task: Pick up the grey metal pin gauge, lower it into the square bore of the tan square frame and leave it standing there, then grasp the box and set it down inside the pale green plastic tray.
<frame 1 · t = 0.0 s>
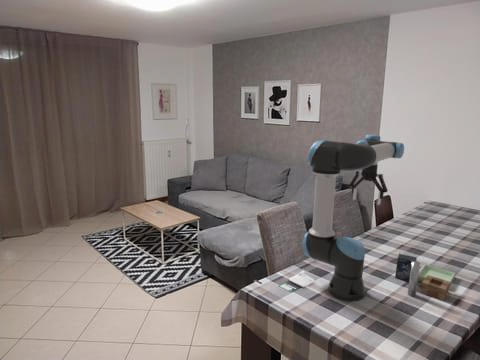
hand: (366, 201, 190), 28 cm above the table, fingers open, 13 cm apart
pin gauge: (411, 294, 150), on the table
tan square frame: (434, 292, 152), on the table
box: (404, 278, 165), on the table
tray: (434, 278, 164), on the table
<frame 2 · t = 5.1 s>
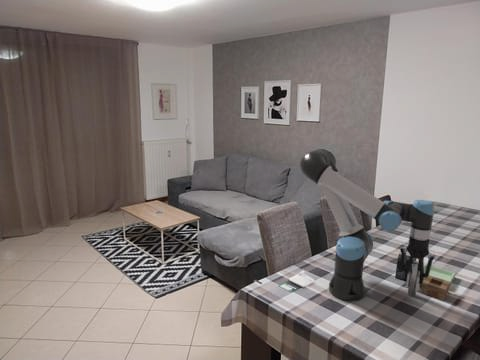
hand: (412, 288, 149), 3 cm above the table, fingers closed on pin gauge, 3 cm apart
pin gauge: (411, 294, 150), on the table, touching gripper
everything else where it was.
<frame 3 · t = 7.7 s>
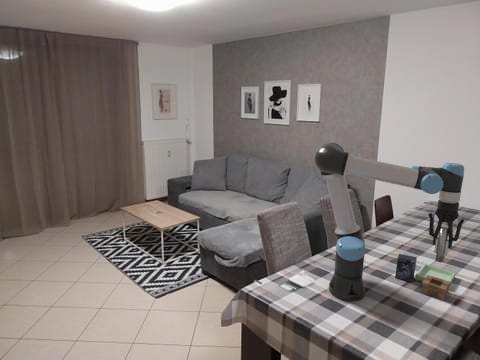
hand: (440, 253, 148), 18 cm above the table, fingers closed on pin gauge, 3 cm apart
pin gauge: (439, 260, 149), point 15 cm above the table, touching gripper
everything else where it was.
when the fingers open (6 cm above the table, at t = 10.5 s): pin gauge drops 1 cm, resting in tan square frame.
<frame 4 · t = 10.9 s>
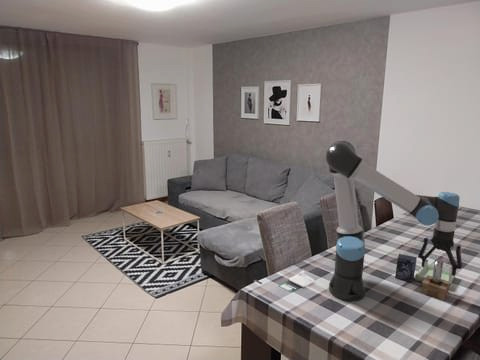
hand: (436, 277, 151), 7 cm above the table, fingers open, 9 cm apart
pin gauge: (434, 292, 152), resting in tan square frame
everything else where it was.
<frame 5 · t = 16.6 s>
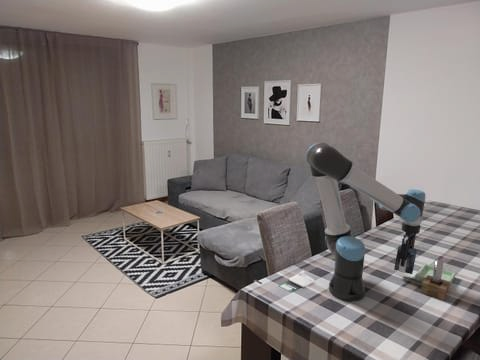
hand: (404, 269, 164), 4 cm above the table, fingers closed on box, 6 cm apart
box: (403, 270, 164), point 4 cm above the table, touching gripper
everything else where it was.
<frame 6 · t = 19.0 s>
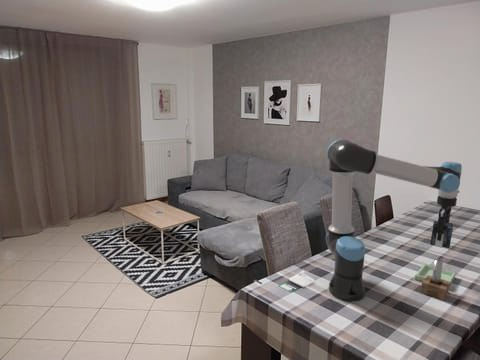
hand: (440, 244, 161), 17 cm above the table, fingers closed on box, 6 cm apart
box: (439, 245, 161), point 17 cm above the table, touching gripper
everything else where it was.
when the fingers open (3 cm above the table, at t = 21.8 s): box drops 2 cm, resting on tray.
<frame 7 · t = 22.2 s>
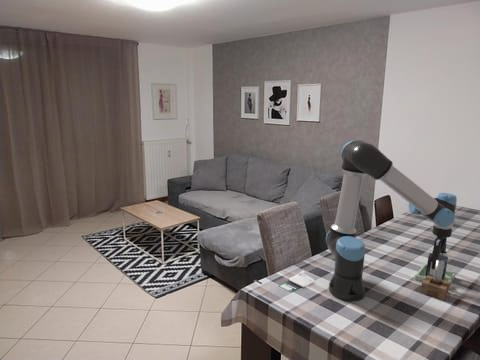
hand: (436, 270, 163), 4 cm above the table, fingers open, 12 cm apart
box: (434, 277, 165), resting on tray
everything else where it was.
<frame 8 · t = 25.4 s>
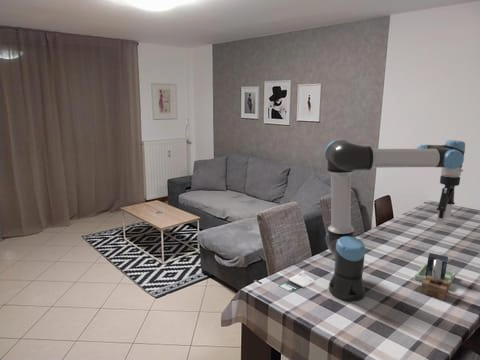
hand: (443, 221, 158), 29 cm above the table, fingers open, 13 cm apart
at the end: box inside the target area on the tray (0.6 cm from its centre), point 0.4 cm above the tray's base; box tilted 0°; pin gauge 0.1 cm from the tan square frame (horizontally) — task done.
